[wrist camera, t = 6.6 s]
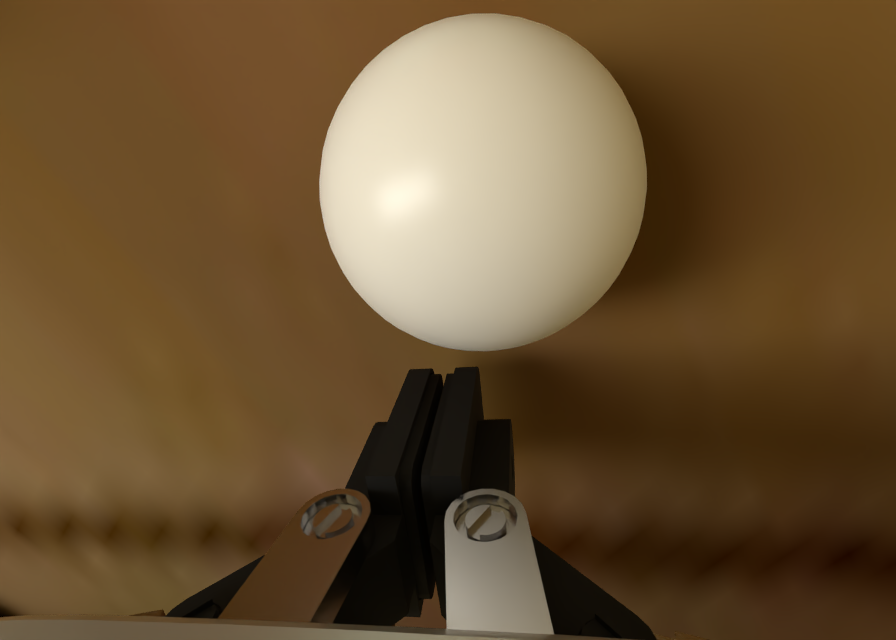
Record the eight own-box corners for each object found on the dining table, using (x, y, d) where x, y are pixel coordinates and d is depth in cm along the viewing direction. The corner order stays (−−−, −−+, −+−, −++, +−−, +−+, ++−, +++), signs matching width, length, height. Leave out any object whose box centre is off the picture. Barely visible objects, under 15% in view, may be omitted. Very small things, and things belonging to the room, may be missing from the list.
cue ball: (346, -39, 4) (367, -55, 9) (271, 390, 7) (313, 220, 12) (812, 144, 6) (633, 52, 10) (589, 438, 9) (524, 273, 13)
